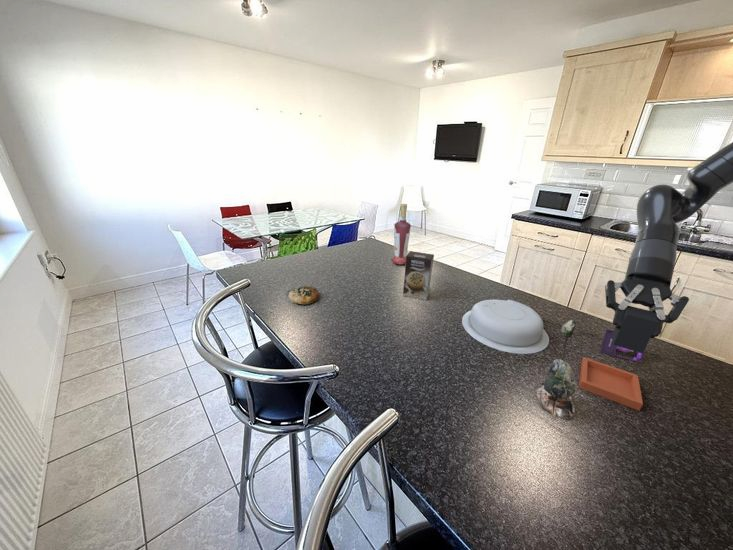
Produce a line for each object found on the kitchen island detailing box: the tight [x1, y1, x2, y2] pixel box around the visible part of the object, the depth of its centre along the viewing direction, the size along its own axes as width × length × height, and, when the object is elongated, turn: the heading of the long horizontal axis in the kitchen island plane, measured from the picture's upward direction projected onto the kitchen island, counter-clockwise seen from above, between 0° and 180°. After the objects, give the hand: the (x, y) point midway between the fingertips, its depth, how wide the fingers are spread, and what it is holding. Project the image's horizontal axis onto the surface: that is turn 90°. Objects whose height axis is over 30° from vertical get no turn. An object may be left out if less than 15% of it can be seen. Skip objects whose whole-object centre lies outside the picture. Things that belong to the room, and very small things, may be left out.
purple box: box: [599, 328, 648, 364], centre depth 81 cm, size 7×5×9 cm
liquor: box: [392, 203, 412, 266], centre depth 134 cm, size 7×7×28 cm
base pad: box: [578, 356, 644, 412], centre depth 70 cm, size 11×11×2 cm
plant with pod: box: [534, 319, 578, 420], centre depth 61 cm, size 8×11×20 cm
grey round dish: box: [461, 299, 550, 355], centre depth 91 cm, size 25×25×6 cm
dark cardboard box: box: [402, 250, 435, 301], centre depth 108 cm, size 9×6×16 cm
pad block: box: [613, 305, 658, 353], centre depth 64 cm, size 5×5×8 cm
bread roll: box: [288, 285, 320, 306], centre depth 106 cm, size 11×11×5 cm
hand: (634, 331), depth 63 cm, fingers closed on pad block, 5 cm apart
